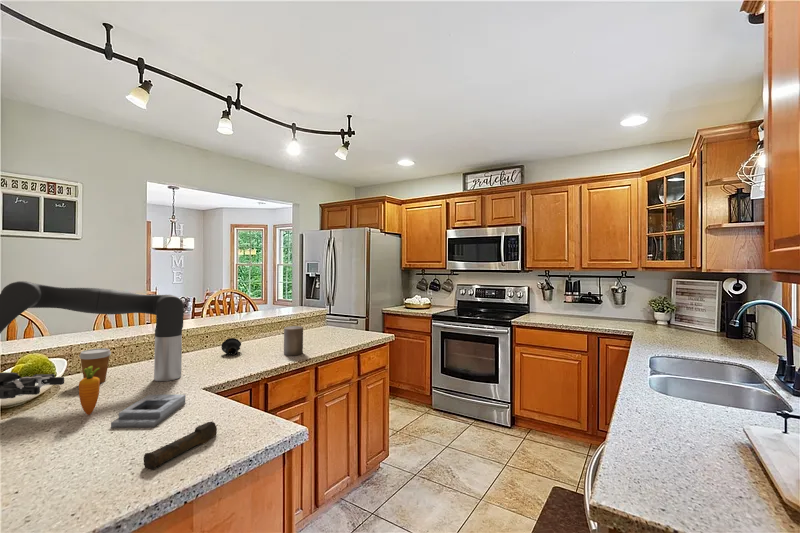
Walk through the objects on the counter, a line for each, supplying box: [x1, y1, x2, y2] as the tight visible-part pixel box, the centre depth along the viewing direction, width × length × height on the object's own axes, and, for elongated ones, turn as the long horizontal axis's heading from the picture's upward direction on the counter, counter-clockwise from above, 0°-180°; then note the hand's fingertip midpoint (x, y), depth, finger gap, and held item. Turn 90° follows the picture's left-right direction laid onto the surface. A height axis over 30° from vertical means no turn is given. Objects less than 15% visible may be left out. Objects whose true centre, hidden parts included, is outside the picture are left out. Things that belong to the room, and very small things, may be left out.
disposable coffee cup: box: [78, 347, 112, 384], centre depth 142 cm, size 10×10×12 cm
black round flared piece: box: [221, 337, 242, 356], centre depth 192 cm, size 9×11×18 cm
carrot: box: [78, 366, 101, 416], centre depth 112 cm, size 5×5×15 cm
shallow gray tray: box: [110, 393, 186, 429], centre depth 114 cm, size 18×12×3 cm, turn 5°
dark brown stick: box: [143, 421, 218, 471], centre depth 93 cm, size 19×4×5 cm, turn 156°
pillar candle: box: [283, 325, 304, 357], centre depth 193 cm, size 10×10×15 cm
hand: (51, 385), depth 111 cm, fingers open, 8 cm apart
